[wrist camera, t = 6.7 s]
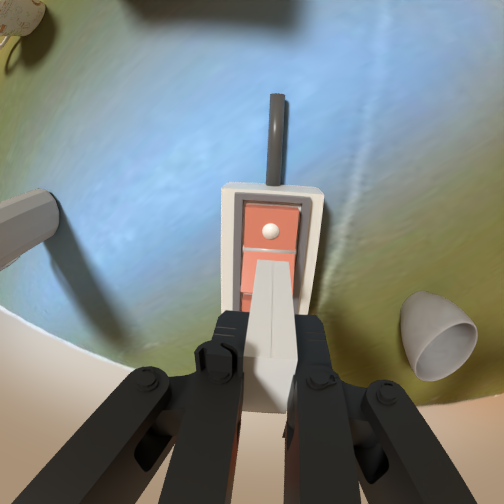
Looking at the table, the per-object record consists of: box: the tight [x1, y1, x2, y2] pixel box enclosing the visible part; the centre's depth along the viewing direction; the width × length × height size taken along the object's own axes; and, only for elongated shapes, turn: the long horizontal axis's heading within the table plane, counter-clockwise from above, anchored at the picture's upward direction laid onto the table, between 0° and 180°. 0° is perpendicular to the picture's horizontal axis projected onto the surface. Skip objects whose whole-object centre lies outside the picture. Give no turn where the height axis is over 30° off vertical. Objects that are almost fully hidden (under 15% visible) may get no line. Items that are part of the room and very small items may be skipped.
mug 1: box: [0, 0, 45, 49], centre depth 15 cm, size 8×13×10 cm, turn 125°
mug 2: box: [400, 291, 478, 381], centre depth 28 cm, size 12×9×10 cm
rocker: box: [241, 204, 299, 296], centre depth 24 cm, size 8×5×2 cm, turn 177°
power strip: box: [221, 94, 324, 315], centre depth 29 cm, size 37×9×5 cm, turn 178°
